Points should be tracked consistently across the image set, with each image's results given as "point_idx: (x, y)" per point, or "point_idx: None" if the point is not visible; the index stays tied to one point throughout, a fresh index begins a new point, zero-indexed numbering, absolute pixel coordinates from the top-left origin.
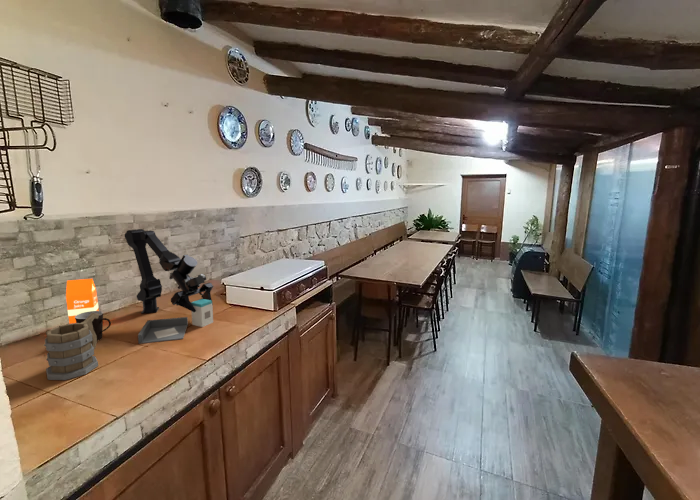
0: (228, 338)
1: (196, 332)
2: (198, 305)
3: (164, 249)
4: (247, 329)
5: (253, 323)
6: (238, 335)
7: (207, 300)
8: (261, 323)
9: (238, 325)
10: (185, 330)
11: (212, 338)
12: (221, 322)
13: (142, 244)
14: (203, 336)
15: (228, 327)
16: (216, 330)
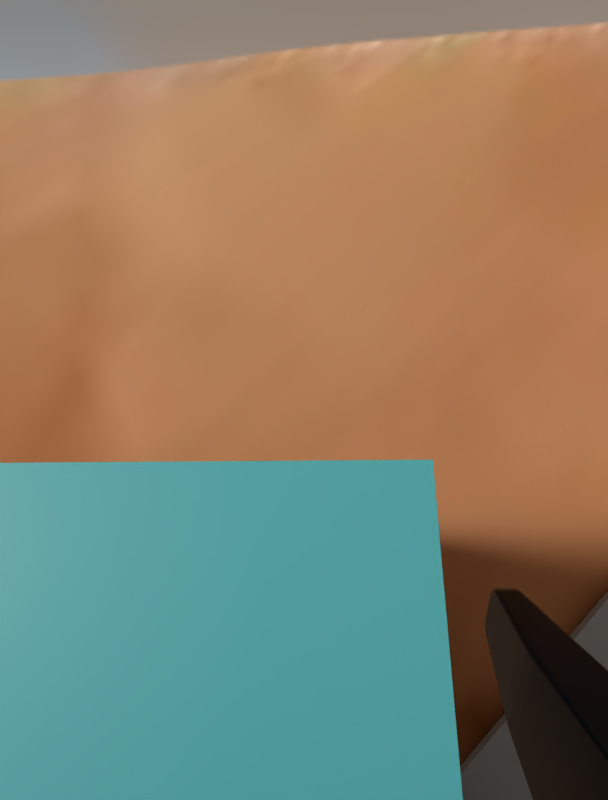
0: (433, 107)
1: (518, 461)
2: (431, 583)
3: None
4: (198, 101)
5: (49, 141)
6: (341, 84)
7: (27, 613)
8: (25, 89)
9: (147, 220)
10: (593, 616)
11: (516, 210)
12: (142, 435)
13: None
14: (539, 312)
15: (234, 266)
16: (356, 312)
